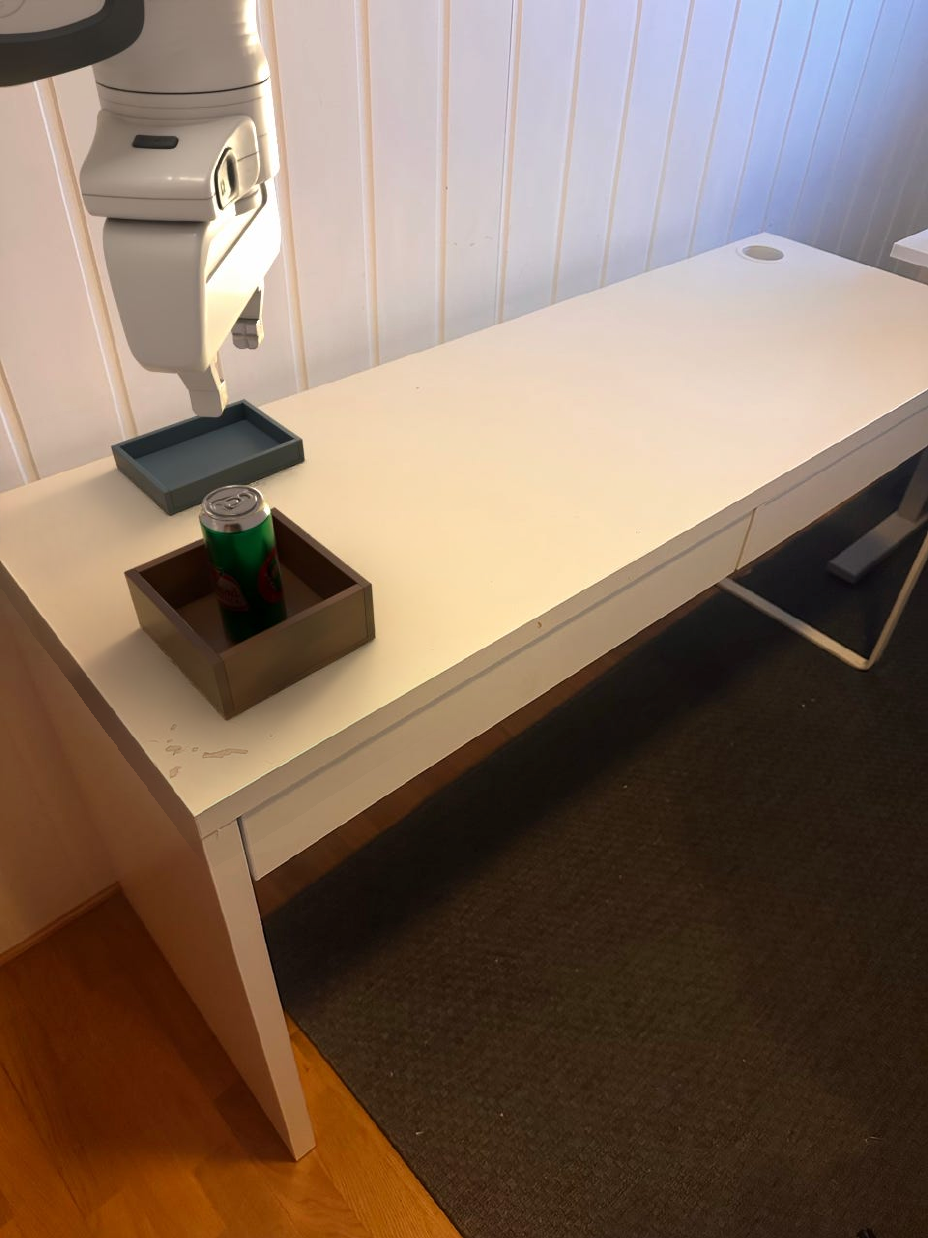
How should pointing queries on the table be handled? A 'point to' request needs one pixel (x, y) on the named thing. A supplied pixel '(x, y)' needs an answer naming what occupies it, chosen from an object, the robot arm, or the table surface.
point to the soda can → (243, 560)
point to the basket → (274, 659)
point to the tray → (207, 455)
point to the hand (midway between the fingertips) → (231, 376)
